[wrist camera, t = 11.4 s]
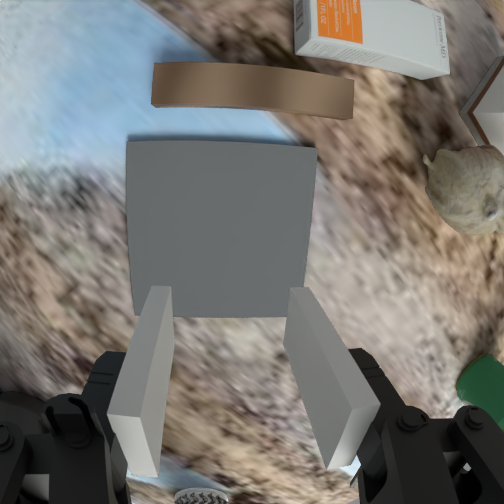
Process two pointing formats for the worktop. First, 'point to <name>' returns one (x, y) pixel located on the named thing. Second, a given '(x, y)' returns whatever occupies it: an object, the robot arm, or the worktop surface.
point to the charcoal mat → (219, 224)
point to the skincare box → (374, 35)
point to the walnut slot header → (251, 89)
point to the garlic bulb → (468, 188)
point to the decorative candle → (200, 496)
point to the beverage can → (484, 386)
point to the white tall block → (487, 108)
